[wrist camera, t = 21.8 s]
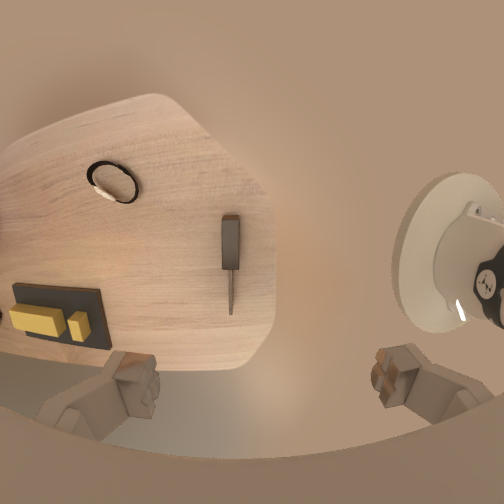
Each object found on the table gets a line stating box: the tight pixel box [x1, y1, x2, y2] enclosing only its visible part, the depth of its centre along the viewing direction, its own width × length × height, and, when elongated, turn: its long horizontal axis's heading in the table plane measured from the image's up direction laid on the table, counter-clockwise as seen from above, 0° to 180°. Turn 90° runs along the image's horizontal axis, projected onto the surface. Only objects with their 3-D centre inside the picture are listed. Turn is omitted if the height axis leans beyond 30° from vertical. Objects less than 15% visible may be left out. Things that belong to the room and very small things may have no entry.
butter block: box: [9, 303, 67, 337], centre depth 35 cm, size 11×4×3 cm, turn 89°
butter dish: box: [12, 283, 112, 350], centre depth 37 cm, size 19×10×1 cm, turn 89°
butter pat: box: [67, 311, 91, 342], centre depth 36 cm, size 2×4×3 cm, turn 178°
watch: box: [87, 161, 139, 204], centre depth 31 cm, size 8×5×4 cm, turn 57°
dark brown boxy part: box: [222, 215, 239, 315], centre depth 35 cm, size 2×12×3 cm, turn 179°
